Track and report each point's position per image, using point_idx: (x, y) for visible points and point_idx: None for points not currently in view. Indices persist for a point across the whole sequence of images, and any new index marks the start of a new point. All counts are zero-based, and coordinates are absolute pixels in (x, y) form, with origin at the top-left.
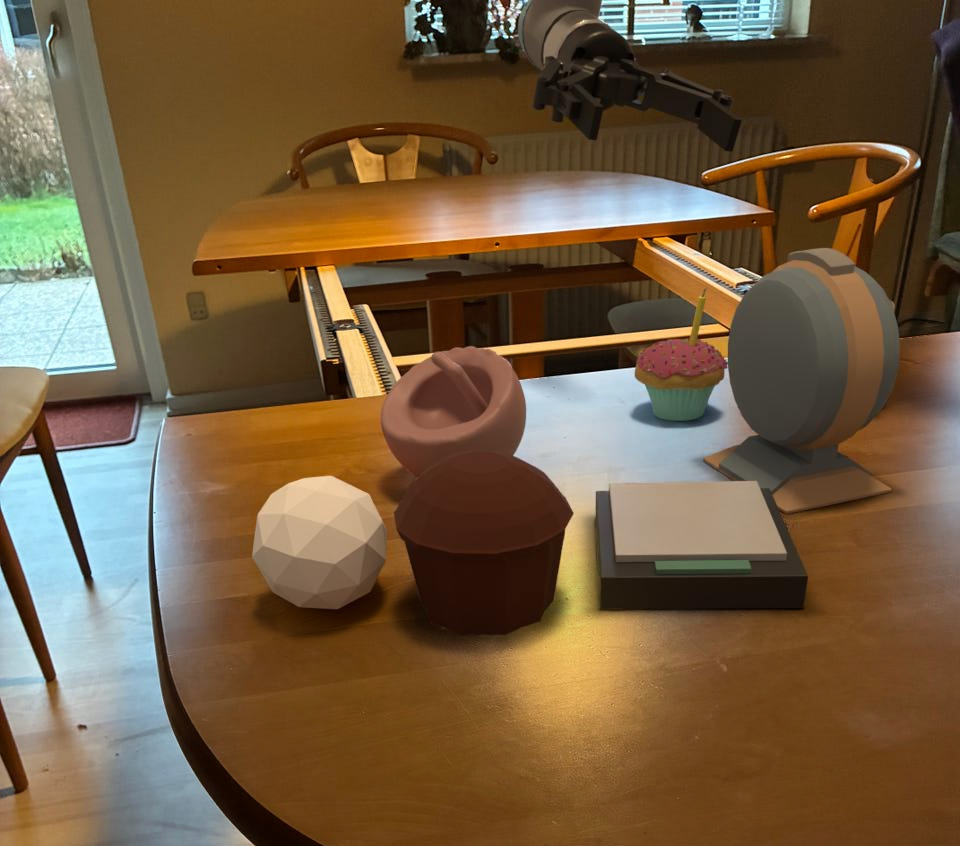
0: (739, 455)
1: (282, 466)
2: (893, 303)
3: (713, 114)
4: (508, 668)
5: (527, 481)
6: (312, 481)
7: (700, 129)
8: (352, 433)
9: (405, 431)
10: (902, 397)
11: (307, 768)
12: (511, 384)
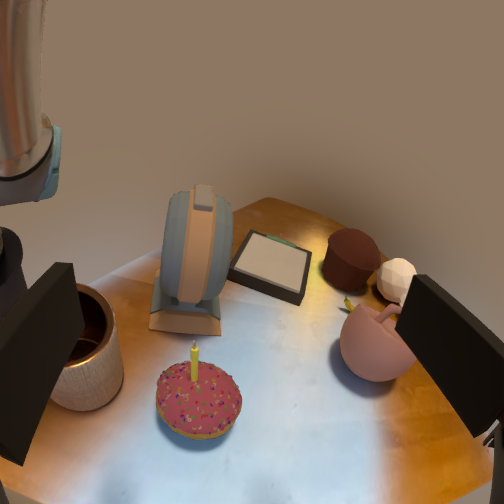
0: (212, 308)
1: (441, 405)
2: None
3: (24, 355)
4: None
5: (346, 229)
6: (407, 263)
7: (28, 443)
8: (423, 446)
9: None
10: None
11: None
12: (360, 305)
